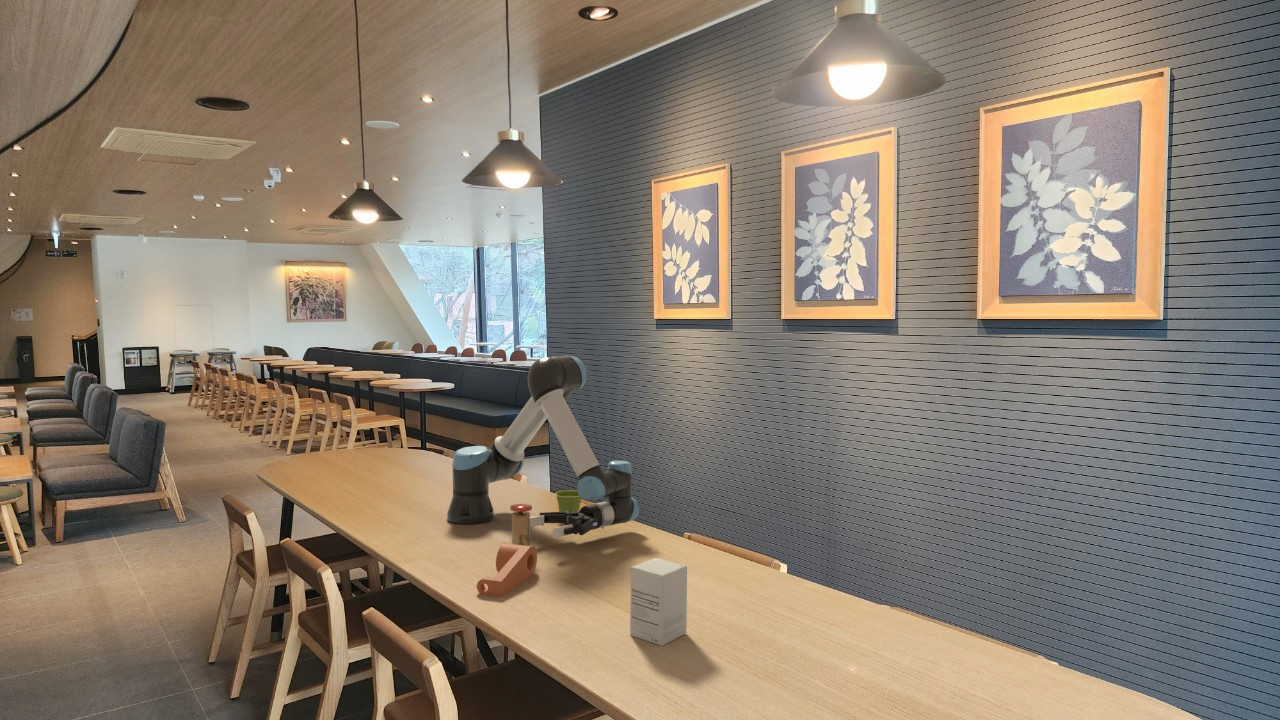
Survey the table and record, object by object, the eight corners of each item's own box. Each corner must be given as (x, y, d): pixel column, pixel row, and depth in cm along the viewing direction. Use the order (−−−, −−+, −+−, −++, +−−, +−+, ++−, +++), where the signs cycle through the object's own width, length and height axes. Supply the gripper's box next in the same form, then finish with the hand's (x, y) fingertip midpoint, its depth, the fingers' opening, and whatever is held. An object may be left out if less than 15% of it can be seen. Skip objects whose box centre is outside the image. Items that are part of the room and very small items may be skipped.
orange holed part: (509, 569, 209) (510, 539, 209) (536, 572, 207) (537, 542, 207) (471, 593, 190) (472, 561, 190) (501, 597, 188) (501, 565, 188)
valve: (504, 554, 221) (505, 506, 220) (523, 550, 225) (524, 502, 225) (517, 560, 216) (517, 510, 215) (536, 555, 221) (537, 506, 220)
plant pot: (581, 523, 257) (582, 496, 256) (553, 522, 257) (553, 496, 256) (584, 515, 266) (584, 490, 265) (556, 515, 266) (557, 490, 266)
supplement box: (654, 622, 173) (655, 556, 173) (687, 633, 168) (688, 565, 167) (628, 635, 166) (629, 566, 166) (661, 647, 161) (662, 575, 160)
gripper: (622, 537, 230) (565, 550, 215) (570, 520, 248) (514, 531, 233) (623, 511, 229) (566, 524, 215) (570, 496, 247) (514, 507, 233)
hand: (538, 528), depth 224 cm, fingers open, 13 cm apart
